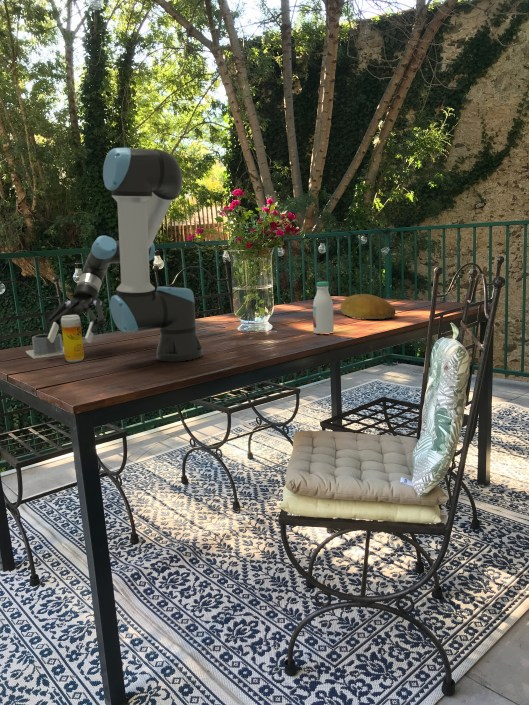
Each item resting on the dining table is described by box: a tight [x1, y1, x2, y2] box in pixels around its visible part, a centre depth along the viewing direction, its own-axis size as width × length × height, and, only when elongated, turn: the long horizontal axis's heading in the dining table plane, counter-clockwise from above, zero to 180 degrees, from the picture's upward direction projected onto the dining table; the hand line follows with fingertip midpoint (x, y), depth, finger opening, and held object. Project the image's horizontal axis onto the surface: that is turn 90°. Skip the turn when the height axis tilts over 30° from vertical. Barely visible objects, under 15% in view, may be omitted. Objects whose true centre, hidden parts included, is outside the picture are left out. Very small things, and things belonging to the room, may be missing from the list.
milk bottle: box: [312, 281, 334, 334], centre depth 222 cm, size 8×8×20 cm
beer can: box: [60, 314, 85, 363], centre depth 192 cm, size 6×6×15 cm
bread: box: [340, 293, 396, 320], centre depth 264 cm, size 18×35×10 cm, turn 21°
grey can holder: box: [25, 333, 65, 360], centre depth 207 cm, size 13×13×6 cm
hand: (68, 340), depth 189 cm, fingers open, 13 cm apart
